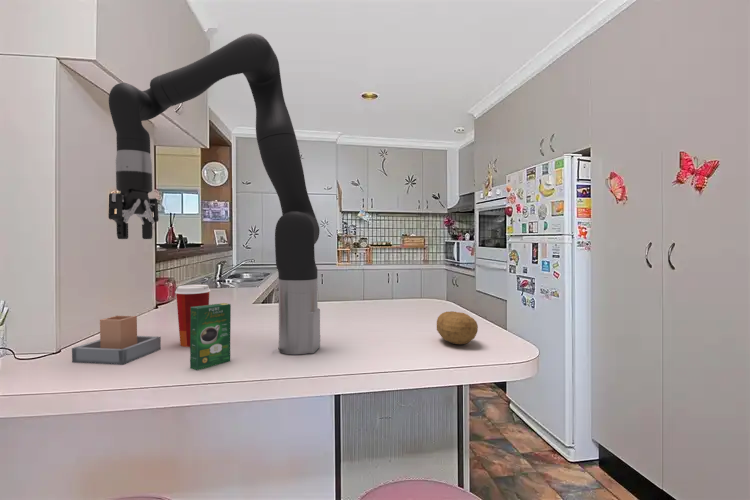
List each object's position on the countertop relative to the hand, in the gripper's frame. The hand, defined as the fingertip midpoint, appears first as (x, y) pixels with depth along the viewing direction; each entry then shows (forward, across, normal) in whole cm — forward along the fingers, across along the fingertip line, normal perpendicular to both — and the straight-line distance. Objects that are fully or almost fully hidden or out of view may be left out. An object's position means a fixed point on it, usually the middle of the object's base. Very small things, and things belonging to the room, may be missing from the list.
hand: (135, 239), depth 99 cm
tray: (+27, -8, -1) cm, 28 cm away
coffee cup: (+27, +4, -12) cm, 30 cm away
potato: (+27, +14, -78) cm, 83 cm away
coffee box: (+27, -11, -25) cm, 38 cm away
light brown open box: (+26, -8, -1) cm, 27 cm away
